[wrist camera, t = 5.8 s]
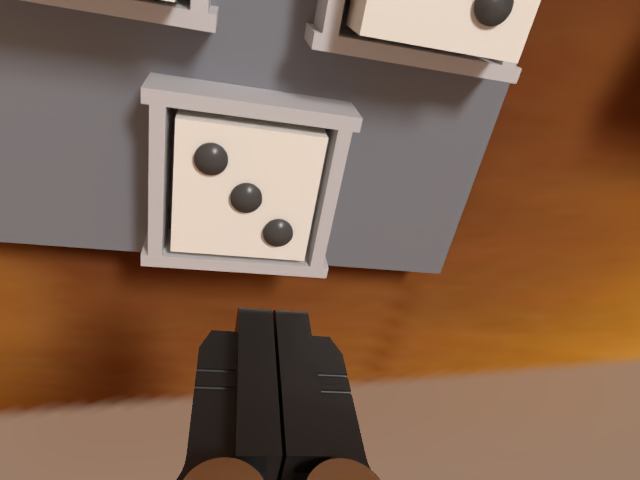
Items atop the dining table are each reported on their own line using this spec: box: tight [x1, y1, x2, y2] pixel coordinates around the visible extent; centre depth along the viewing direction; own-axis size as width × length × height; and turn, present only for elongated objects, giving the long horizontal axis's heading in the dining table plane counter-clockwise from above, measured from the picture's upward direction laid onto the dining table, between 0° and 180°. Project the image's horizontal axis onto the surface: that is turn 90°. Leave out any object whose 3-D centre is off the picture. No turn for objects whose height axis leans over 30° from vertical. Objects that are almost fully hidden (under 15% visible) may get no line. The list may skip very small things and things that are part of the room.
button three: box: [170, 109, 329, 261], centre depth 18 cm, size 5×5×2 cm
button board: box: [0, 0, 522, 278], centre depth 17 cm, size 19×17×4 cm
